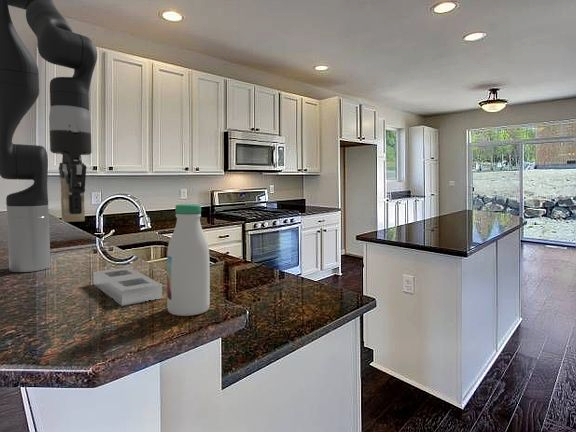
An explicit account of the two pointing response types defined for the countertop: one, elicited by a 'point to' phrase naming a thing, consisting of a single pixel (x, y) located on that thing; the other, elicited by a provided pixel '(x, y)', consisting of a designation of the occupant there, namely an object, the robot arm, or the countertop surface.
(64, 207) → the beech peg
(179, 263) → the milk bottle
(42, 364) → the countertop surface
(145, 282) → the white slotted block
